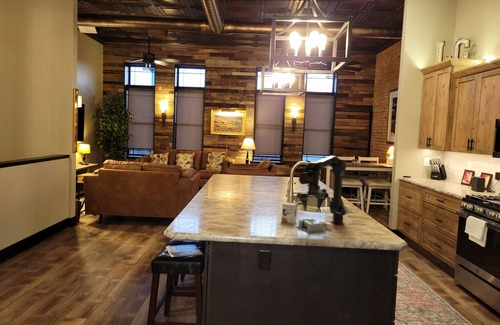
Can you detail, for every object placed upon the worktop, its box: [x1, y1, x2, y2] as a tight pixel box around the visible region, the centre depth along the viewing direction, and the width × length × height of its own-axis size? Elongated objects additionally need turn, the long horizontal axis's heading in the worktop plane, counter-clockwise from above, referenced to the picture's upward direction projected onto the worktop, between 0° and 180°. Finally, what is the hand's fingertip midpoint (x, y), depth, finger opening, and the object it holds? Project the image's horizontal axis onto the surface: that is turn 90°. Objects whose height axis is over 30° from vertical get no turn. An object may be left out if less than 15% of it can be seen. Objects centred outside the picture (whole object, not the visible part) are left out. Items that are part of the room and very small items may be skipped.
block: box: [319, 220, 333, 231], centre depth 226 cm, size 8×3×4 cm, turn 24°
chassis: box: [296, 218, 326, 234], centre depth 220 cm, size 14×11×5 cm
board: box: [303, 220, 318, 225], centre depth 220 cm, size 9×6×2 cm, turn 24°
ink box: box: [280, 202, 298, 224], centre depth 238 cm, size 9×5×12 cm, turn 68°
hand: (312, 209), depth 219 cm, fingers open, 9 cm apart
